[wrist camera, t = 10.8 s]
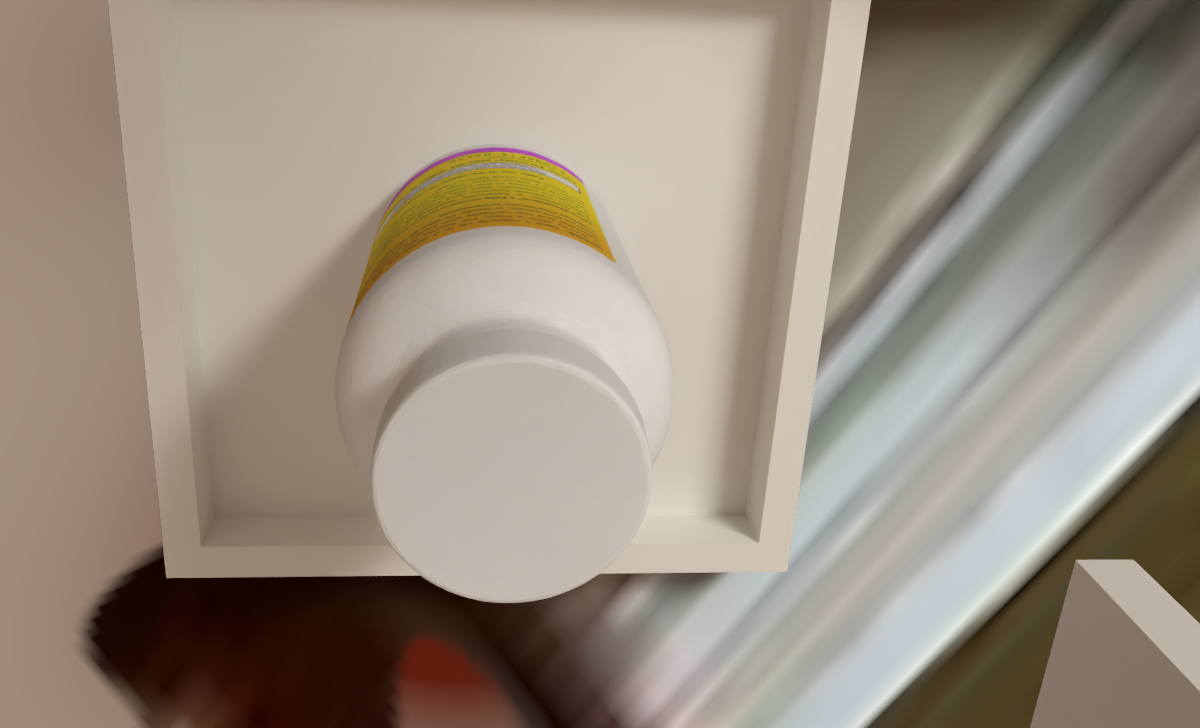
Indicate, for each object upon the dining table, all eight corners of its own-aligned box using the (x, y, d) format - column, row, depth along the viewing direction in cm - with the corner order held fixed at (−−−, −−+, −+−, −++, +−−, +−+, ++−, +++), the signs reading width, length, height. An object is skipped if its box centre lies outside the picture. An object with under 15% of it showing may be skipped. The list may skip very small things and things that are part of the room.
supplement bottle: (325, 218, 28) (217, 424, 16) (539, 91, 28) (587, 210, 16) (459, 412, 31) (448, 712, 19) (659, 300, 30) (777, 537, 18)
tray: (129, -120, 26) (94, -126, 23) (847, -69, 28) (881, -70, 26) (187, 532, 32) (166, 578, 30) (765, 529, 34) (786, 571, 32)
